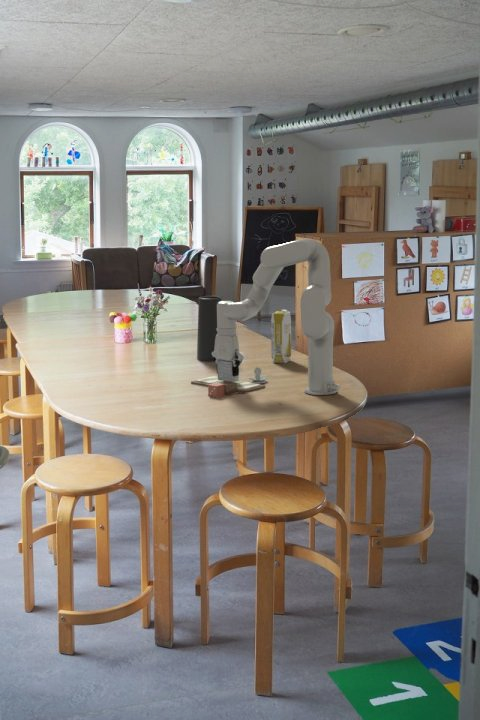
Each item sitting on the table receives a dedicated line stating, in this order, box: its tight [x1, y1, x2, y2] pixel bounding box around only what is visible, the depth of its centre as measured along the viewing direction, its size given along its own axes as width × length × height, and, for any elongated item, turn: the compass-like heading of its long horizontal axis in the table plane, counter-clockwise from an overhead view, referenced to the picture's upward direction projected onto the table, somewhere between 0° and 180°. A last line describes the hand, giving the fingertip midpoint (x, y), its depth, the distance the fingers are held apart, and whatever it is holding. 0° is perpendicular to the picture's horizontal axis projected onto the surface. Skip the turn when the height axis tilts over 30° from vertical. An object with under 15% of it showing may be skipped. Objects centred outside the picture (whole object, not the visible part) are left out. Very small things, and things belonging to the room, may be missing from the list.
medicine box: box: [216, 359, 240, 382], centre depth 358 cm, size 8×4×9 cm, turn 49°
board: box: [190, 375, 266, 395], centre depth 359 cm, size 29×13×1 cm, turn 48°
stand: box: [219, 381, 238, 396], centre depth 346 cm, size 6×6×4 cm
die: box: [207, 383, 226, 398], centre depth 343 cm, size 4×4×5 cm
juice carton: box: [270, 309, 292, 364], centre depth 403 cm, size 9×8×24 cm
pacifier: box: [248, 366, 268, 385], centre depth 364 cm, size 7×6×6 cm
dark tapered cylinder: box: [196, 295, 223, 362], centre depth 413 cm, size 14×14×29 cm
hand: (227, 374), depth 359 cm, fingers closed on medicine box, 8 cm apart
